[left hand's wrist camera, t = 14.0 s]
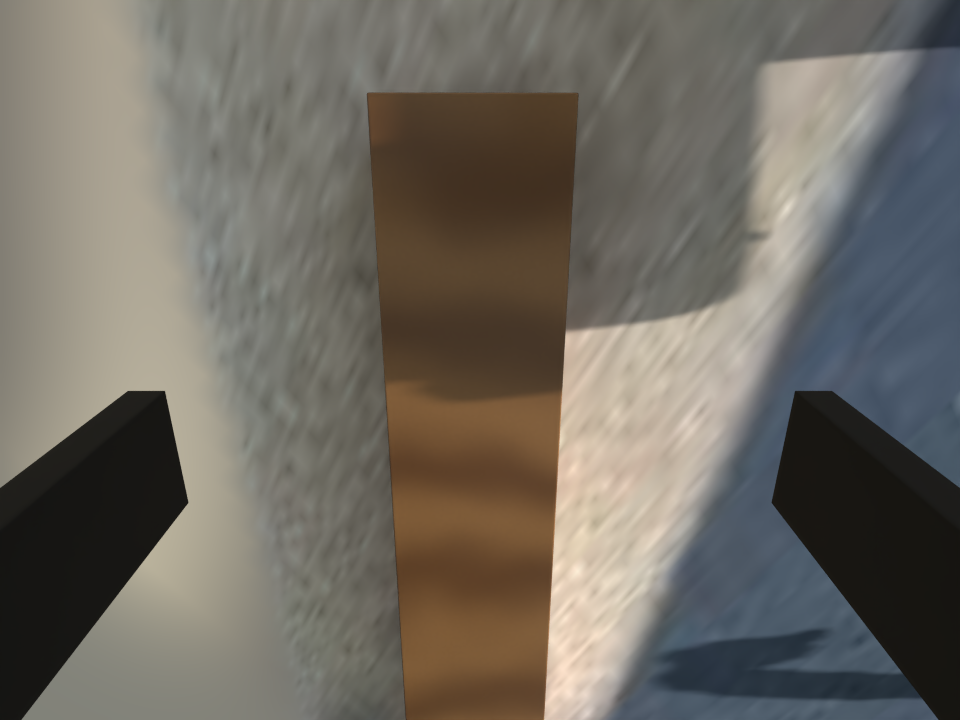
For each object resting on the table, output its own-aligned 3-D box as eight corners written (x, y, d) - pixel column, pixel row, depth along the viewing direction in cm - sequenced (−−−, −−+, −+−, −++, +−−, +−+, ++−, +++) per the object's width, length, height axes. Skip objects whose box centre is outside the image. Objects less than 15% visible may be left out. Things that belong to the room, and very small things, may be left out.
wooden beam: (386, 98, 32) (366, 92, 26) (557, 99, 32) (578, 92, 26) (427, 899, 58) (422, 992, 52) (522, 897, 58) (529, 990, 52)
